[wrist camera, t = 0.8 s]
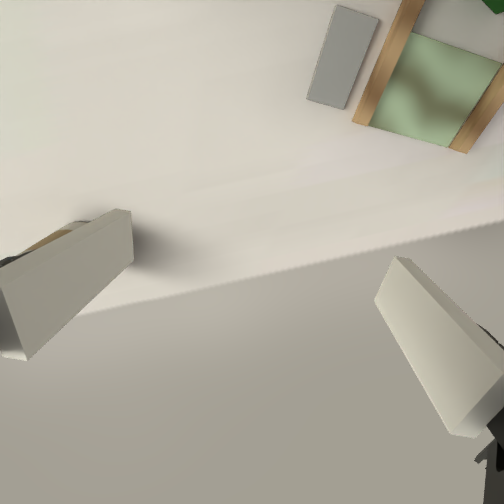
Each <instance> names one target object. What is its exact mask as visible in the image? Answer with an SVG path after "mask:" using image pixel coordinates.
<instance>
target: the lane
mask: <svg viewBox="0 0 504 504" xmlns="http://www.w3.org/2000/svg"><path fill="white" fill-rule="evenodd" d="M424 2H425V0H402V3H401V5H400V7H399V10H398V12H397V15H396V17H395V19H394V22H393V24H392V26H391V29H390V31H389V34H388V36H387V38H386V41H385V43H384V45H383V48H382V50H381V53H380V55H379V57H378V60H377V62H376V64H375V67H374V69H373V72H372V74H371V76H370V79H369V81H368V83H367V86H366V88H365V91H364V93H363V95H362V98H361V100H360V103H359V105H358V107H357V110H356V112H355V114H354V117H353V119H352V121H353V122H355V123H357V124H360V125H364V126H371V127H375V128H379V129H382V130H386V131H389V132H393V133H397V134H400V135H404V136H407V137H411V138H415V139H418V140H422V141H426V142H429V143H433V144H436V145H440V146H444V147H448V146H449V144H450V143H451V141H452V140H453V138H454V137H455V135H456V134H457V132H458V130H459V129H460V127H461V126H462V124H463V123H464V121H465V120H466V118H467V117H468V115H469V114H470V112H471V111H472V109H473V108H474V106H475V105H476V103H477V101H478V100H479V98H480V97H481V95H482V94H483V92H484V91H485V89H486V88H487V86H488V85H489V83H490V82H491V80H492V79H493V77H494V76H495V74H496V73H497V71H498V69H499V68H500V66H501V65H502V63H499V62H496V61H493V60H490V59H488V58H485V57H482V56H479V55H476V54H473V53H470V52H468V51H465V50H462V49H459V48H456V47H453V46H450V45H448V44H445V43H442V42H439V41H436V40H433V39H431V38H428V37H425V36H422V35H419V34H416V33H413V32H411V30H412V28H413V26H414V24H415V22H416V19H417V17H418V15H419V13H420V11H421V8H422V6H423V4H424ZM503 102H504V64H503V66H502V67H501V69H500V70H499V72H498V73H497V75H496V76H495V78H494V79H493V81H492V82H491V84H490V85H489V87H488V88H487V90H486V91H485V93H484V94H483V96H482V97H481V99H480V100H479V102H478V104H477V105H476V107H475V108H474V110H473V111H472V113H471V114H470V116H469V117H468V119H467V120H466V122H465V123H464V125H463V126H462V128H461V129H460V131H459V132H458V134H457V135H456V137H455V138H454V140H453V142H452V143H451V145H450V146H449V148H451V149H453V150H456V151H458V152H462V153H466V154H467V153H468V151H469V150H470V149H471V147H472V146H473V144H474V143H475V142H476V140H477V139H478V137H479V136H480V134H481V133H482V132H483V130H484V129H485V127H486V126H487V125H488V123H489V122H490V120H491V119H492V118H493V116H494V115H495V113H496V112H497V110H498V109H499V108H500V106H501V105H502V103H503Z"/></svg>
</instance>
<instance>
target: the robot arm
mask: <svg viewBox="0 0 504 504" xmlns="http://www.w3.org/2000/svg"><path fill="white" fill-rule="evenodd" d="M133 261H134V250H133V235H132V221H131V211H126V210H120V209H114V210H112V211H110V212H108V213H106V214H104V215H102V216H100V217H99V218H97V219H95V220H93V221H91V222H89V223H87V224H85V225H83V226H81V227H79V228H77V229H75V230H73V231H71V232H69V233H67V234H65V235H63V236H61V237H60V238H58V239H56V240H54V241H52V242H50V243H48V244H46V245H44V246H42V247H40V248H38V249H35V250H31V251H28V252H25V253H23V254H21V255H19V256H17V257H15V258H13V259H11V261H7V262H5V263H3V264H1V265H0V351H1V353H2V355H3V357H8V358H14V359H19V360H25V361H28V360H29V359H30V358H31V357H32V356H33V355H34V354H35V353H36V352H37V351H38V350H39V349H41V348H42V347H43V346H44V345H45V344H46V343H47V342H48V341H49V340H50V339H51V338H52V337H53V336H54V335H55V334H56V333H57V332H59V331H60V330H61V329H62V328H63V327H64V326H65V325H66V324H67V323H68V322H69V321H70V320H71V319H72V318H73V317H74V316H75V315H76V314H78V313H79V312H80V311H81V310H82V309H83V308H84V307H85V306H86V305H87V304H88V303H89V302H90V301H91V300H92V299H93V298H94V297H96V296H97V295H98V294H99V293H100V292H101V291H102V290H103V289H104V288H105V287H106V286H107V285H108V284H109V283H110V282H111V281H112V280H113V279H115V278H116V277H117V276H118V275H119V274H120V273H121V272H122V271H123V270H124V269H125V268H126V267H127V266H128V265H129V264H130V263H131V262H133ZM374 302H375V304H376V305H377V307H378V309H379V310H380V312H381V314H382V316H383V318H384V319H385V321H386V323H387V325H388V326H389V328H390V329H391V332H392V333H393V335H394V337H395V338H396V340H397V342H398V344H399V346H400V347H401V349H402V351H403V352H404V354H405V356H406V358H407V360H408V361H409V363H410V365H411V367H412V368H413V370H414V372H415V374H416V375H417V377H418V379H419V380H420V382H421V384H422V386H423V388H424V389H425V391H426V393H427V394H428V396H429V398H430V400H431V402H432V403H433V405H434V407H435V409H436V410H437V412H438V414H439V416H440V417H441V419H442V421H443V423H444V424H445V426H446V428H447V430H448V431H449V433H450V434H453V435H459V436H465V437H471V438H476V437H477V436H478V435H479V434H480V433H481V432H482V431H483V429H484V428H485V427H486V426H487V427H488V429H489V430H490V431H491V433H492V434H493V436H494V437H495V439H494V440H493V441H492V442H491V443H490V444H489V445H488V446H487V447H486V448H484V450H482V451H481V452H480V453H479V454H478V455H477V457H476V458H475V460H474V461H476V462H477V463H480V462H481V461H482V460H483V459H487V467H486V468H485V469H486V479H485V490H484V502H483V504H504V347H503V346H502V345H501V344H498V341H497V340H496V339H495V338H494V337H493V336H492V335H491V334H490V333H489V332H488V331H486V330H485V329H484V328H482V327H481V326H480V325H478V324H477V323H475V322H474V321H473V320H472V319H471V318H470V317H469V316H468V315H467V314H466V313H465V312H464V311H463V310H462V309H461V308H460V307H459V306H458V305H457V304H456V303H455V302H454V301H453V300H452V299H451V298H450V297H449V296H448V295H447V294H445V293H444V292H443V291H442V290H441V289H440V288H439V287H438V286H437V285H436V284H435V283H434V282H433V281H432V280H431V279H430V278H429V277H428V276H427V275H426V274H425V273H424V272H423V271H422V270H421V269H420V268H419V267H418V266H417V265H416V264H415V263H414V262H412V260H411V259H409V258H403V257H397V256H394V258H393V260H392V262H391V264H390V266H389V269H388V271H387V273H386V275H385V277H384V280H383V282H382V284H381V286H380V288H379V291H378V293H377V295H376V297H375V299H374Z"/></svg>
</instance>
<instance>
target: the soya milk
mask: <svg viewBox="0 0 504 504" xmlns="http://www.w3.org/2000/svg"><path fill="white" fill-rule="evenodd" d="M482 1H483V2H484V3H485V4H486V5H487V6H488V7H489V8H490V9H491V10H492V11H493V12H494V13H495V14H498V13H502V12H504V0H482Z"/></svg>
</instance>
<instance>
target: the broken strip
mask: <svg viewBox="0 0 504 504" xmlns="http://www.w3.org/2000/svg"><path fill="white" fill-rule="evenodd" d="M378 20H379V19H376V18H373V17H370V16H368V15H365V14H362V13H359V12H356V11H353V10H351V9H348V8H345V7H342V6H339V5H336V6H335V8H334V11H333V14H332V17H331V20H330V24H329V27H328V30H327V33H326V37H325V40H324V43H323V46H322V49H321V53H320V56H319V59H318V62H317V65H316V69H315V72H314V75H313V78H312V82H311V85H310V88H309V91H308V94H307V98H306V99H307V100H310V101H314V102H317V103H321V104H324V105H328V106H331V107H335V108H339V109H342V110H343V109H344V107H345V104H346V102H347V99H348V96H349V94H350V91H351V89H352V86H353V84H354V81H355V79H356V76H357V74H358V71H359V69H360V66H361V63H362V61H363V58H364V56H365V53H366V51H367V48H368V46H369V43H370V41H371V38H372V36H373V33H374V30H375V28H376V25H377V23H378Z"/></svg>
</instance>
